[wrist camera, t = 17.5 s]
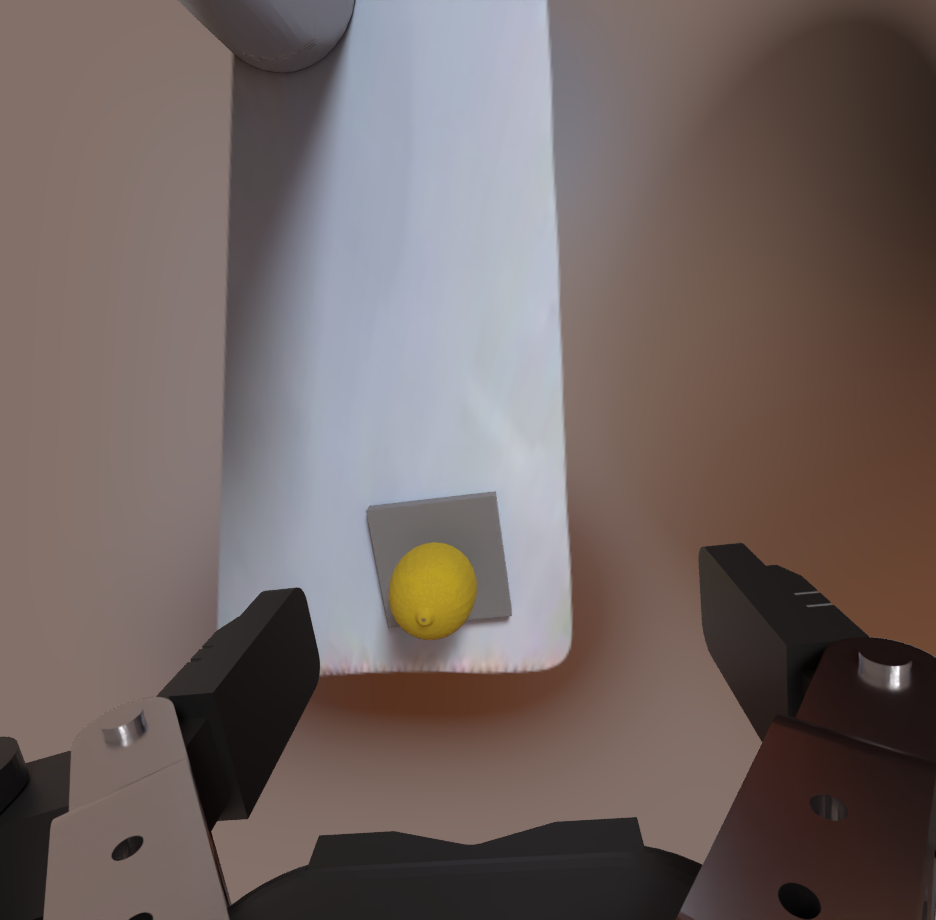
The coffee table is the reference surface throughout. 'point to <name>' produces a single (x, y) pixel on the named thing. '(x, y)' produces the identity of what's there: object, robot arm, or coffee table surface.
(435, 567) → the lemon
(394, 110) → the coffee table surface
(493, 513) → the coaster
